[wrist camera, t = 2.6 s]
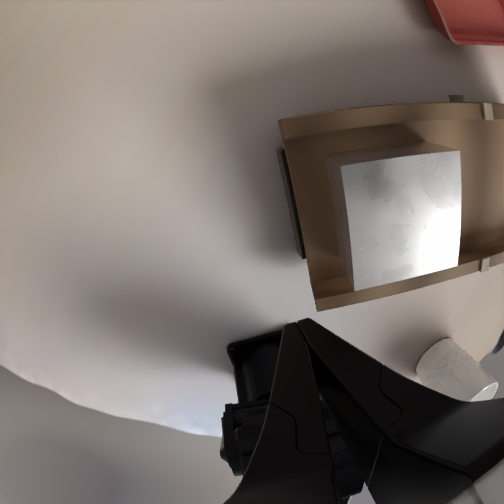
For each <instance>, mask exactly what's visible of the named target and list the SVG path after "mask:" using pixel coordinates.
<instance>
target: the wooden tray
mask: <svg viewBox="0 0 504 504" xmlns="http://www.w3.org/2000/svg"><path fill="white" fill-rule="evenodd" d="M449 100H450V102H422V103H402V104H388V105H376V106H366V107H357V108H349V109H341V110H334V111H327V112H320V113H314V114H308V115H302V116H297V117H291V118H286V119H281V120H278V123H279V127H280V131H281V136H282V140H283V144H284V149H285V153H286V158H287V162H288V167H289V171H290V176H291V181H292V186H293V191H294V195H295V200H296V205H297V210H298V216H299V221H300V226H301V231H302V237H303V242H304V248H305V253H306V259H307V265H308V271H309V277H310V283H311V287H312V291H313V296H314V300H315V304H316V309H317V312H318V311H323V310H328V309H333V308H338V307H343V306H347V305H352V304H356V303H361V302H365V301H370V300H374V299H378V298H382V297H386V296H391V295H395V294H399V293H403V292H406V291H410V290H414V289H418V288H422V287H425V286H429V285H433V284H436V283H440V282H443V281H447V280H450V279H454V278H457V277H460V276H464V275H467V274H470V273H473V272H477V271H480V272H484V271H487V270H488V268H489V267H492V266H495V265H498V264H501V263H504V104H498V103H480V102H464V96H462V95H449ZM419 141H428V142H431V143H435V144H439V145H443V146H446V147H450V148H453V149H456V150H460V162H461V226H460V242H459V253H458V263H457V266H454V267H450V268H447V269H443V270H439V271H436V272H432V273H428V274H424V275H421V276H417V277H413V278H409V279H405V280H401V281H397V282H392V283H388V284H384V285H380V286H375V287H371V288H367V289H362V290H358V291H354V289H353V287H352V284H351V282H350V280H349V278H348V275H347V273H346V271H345V269H344V267H343V264H342V262H341V260H340V257H339V248H338V240H337V232H336V225H335V218H334V211H333V204H332V197H331V191H330V185H329V179H328V173H327V168H326V162H325V157H324V155H325V154H331V153H337V152H343V151H349V150H356V149H362V148H369V147H377V146H384V145H392V144H401V143H410V142H419Z"/></svg>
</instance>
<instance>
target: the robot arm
mask: <svg viewBox="0 0 504 504" xmlns="http://www.w3.org/2000/svg"><path fill="white" fill-rule="evenodd" d="M231 349H234V350H231ZM227 353H228V355H229V357H230V360H231V362H232V364H233V367H234V374H235V382H236V389H237V396H238V403H237V404H232V403H230V404H225V412H223V417H222V418H221V420H222V431H223V435H222V441H221V447H220V456H221V458H222V459H223V460H225V461H226V462H228V463H229V466H230V468H232V471H233V473H234V475H235V476H241V475H243V478H242V480H241V482H240V484H239V486H238V487H237V489H236V490H235V492H234V493H233V494H232V495H231V497H230V498H229V499H228V500H226V502H224V503H223V504H349V503H350V500H351V498H352V496H353V495H355V494H358V493H360V492H361V491H362V488H363V485H364V482H365V483H366V485H367V487H368V489H369V491H370V493H371V495H372V497H373V499H374V501H375V503H376V504H504V398H498V399H491V400H483V401H474V402H470V401H462V400H458V399H455V398H452V397H449V396H447V395H445V394H442V393H440V392H437V391H435V390H433V389H430V388H428V387H426V386H423V385H421V384H419V383H417V382H415V381H413V380H410V379H408V378H406V377H404V376H403V375H401V374H399V373H397V372H395V371H394V370H392V369H390V368H389V367H387V366H385V365H383V364H382V363H380V362H379V361H377V360H376V359H374V358H372V357H371V356H369V355H367V354H366V353H364V352H363V351H361V350H359V349H358V348H356V347H355V346H353V345H351V344H350V343H348V342H347V341H345V340H343V339H342V338H340V337H339V336H337V335H335V334H334V333H332V332H331V331H329V330H328V329H326V328H324V327H323V326H321V325H320V324H318V323H316V322H315V321H313V320H312V319H310V318H305V319H302V320H299V321H297V323H296V322H292V323H289V324H286V325H284V327H283V330H279V331H276V332H272V333H269V334H265V335H262V336H258V337H255V338H251V339H247V340H243V341H240V342H236V343H232V344H229V345H228V346H227Z"/></svg>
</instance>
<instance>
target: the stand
mask: <svg viewBox="0 0 504 504" xmlns="http://www.w3.org/2000/svg"><path fill="white" fill-rule="evenodd" d="M276 151H277V155H278V159H279V164H280V168H281V173H282V177H283V182H284V186H285V191H286V196H287V200H288V205H289V210H290V215H291V220H292V225H293V230H294V235H295V240H296V245H297V250H298V253H299V255H300V256H301V258H302V259H305V258H306V253H305V248H304V242H303V237H302V231H301V226H300V221H299V216H298V210H297V205H296V200H295V195H294V191H293V186H292V181H291V176H290V171H289V167H288V162H287V158H286V153H285V149H284V148H279V149H276Z"/></svg>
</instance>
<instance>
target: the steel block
mask: <svg viewBox="0 0 504 504" xmlns="http://www.w3.org/2000/svg"><path fill="white" fill-rule="evenodd" d="M324 157H325V162H326V168H327V173H328V179H329V185H330V191H331V197H332V204H333V211H334V218H335V225H336V232H337V240H338V248H339V257H340V260H341V262H342V264H343V267H344V269H345V271H346V273H347V275H348V278H349V280H350V282H351V284H352V287H353V289H354V291H358V290H362V289H367V288H371V287H375V286H380V285H384V284H388V283H392V282H397V281H401V280H405V279H409V278H413V277H417V276H421V275H424V274H428V273H432V272H436V271H439V270H443V269H447V268H450V267H454V266H457V263H458V253H459V242H460V226H461V162H460V150H456V149H453V148H450V147H446V146H443V145H439V144H435V143H431V142H428V141H419V142H410V143H401V144H392V145H384V146H377V147H369V148H362V149H356V150H349V151H343V152H337V153H331V154H325V155H324Z"/></svg>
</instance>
